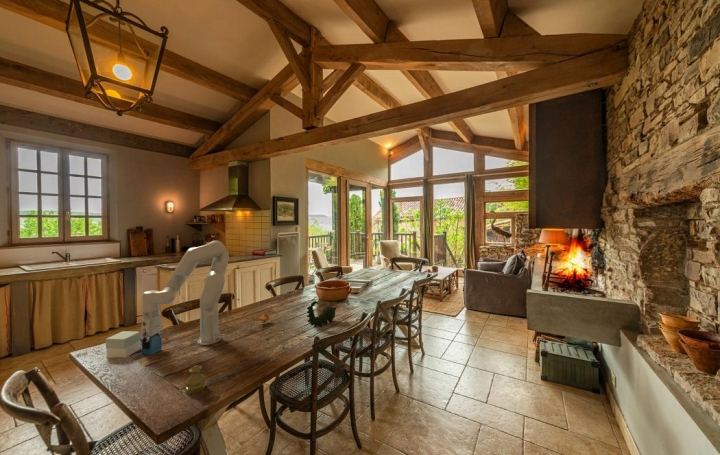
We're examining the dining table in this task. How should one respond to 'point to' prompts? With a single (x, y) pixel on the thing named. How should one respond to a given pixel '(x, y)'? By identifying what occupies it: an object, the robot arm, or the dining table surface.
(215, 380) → the dining table surface
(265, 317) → the magic lamp
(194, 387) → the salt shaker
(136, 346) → the bottom block
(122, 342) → the top block
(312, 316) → the toy figurine
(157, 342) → the perfume bottle
